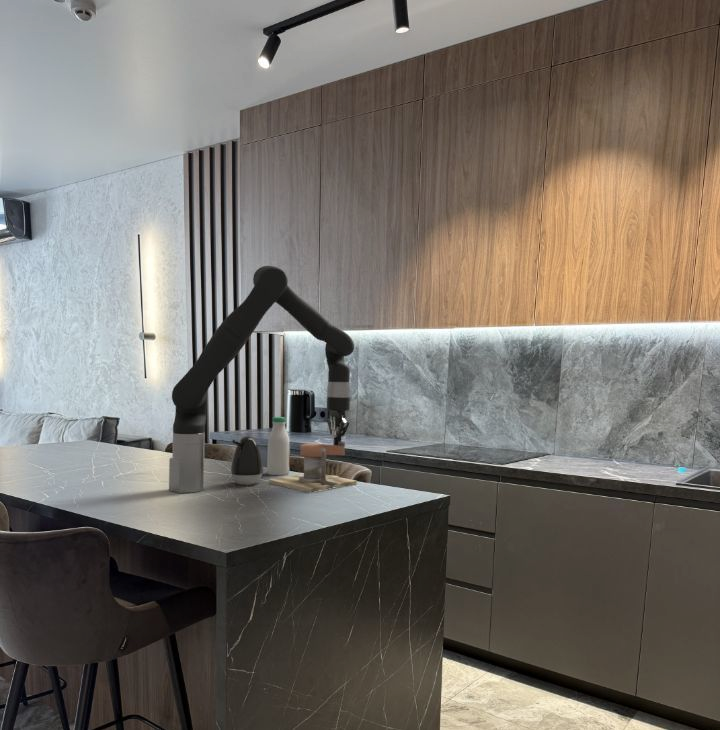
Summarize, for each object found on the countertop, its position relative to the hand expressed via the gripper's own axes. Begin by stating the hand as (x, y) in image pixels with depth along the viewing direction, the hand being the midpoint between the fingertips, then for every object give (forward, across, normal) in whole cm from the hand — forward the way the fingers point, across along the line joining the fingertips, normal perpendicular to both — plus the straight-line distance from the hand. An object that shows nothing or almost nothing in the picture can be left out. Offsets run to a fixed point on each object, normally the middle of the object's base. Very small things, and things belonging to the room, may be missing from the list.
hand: (337, 448), depth 194 cm
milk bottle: (+12, +22, +13) cm, 28 cm away
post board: (+11, +1, +8) cm, 14 cm away
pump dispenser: (+12, +8, +28) cm, 31 cm away
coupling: (+2, -1, +5) cm, 6 cm away
